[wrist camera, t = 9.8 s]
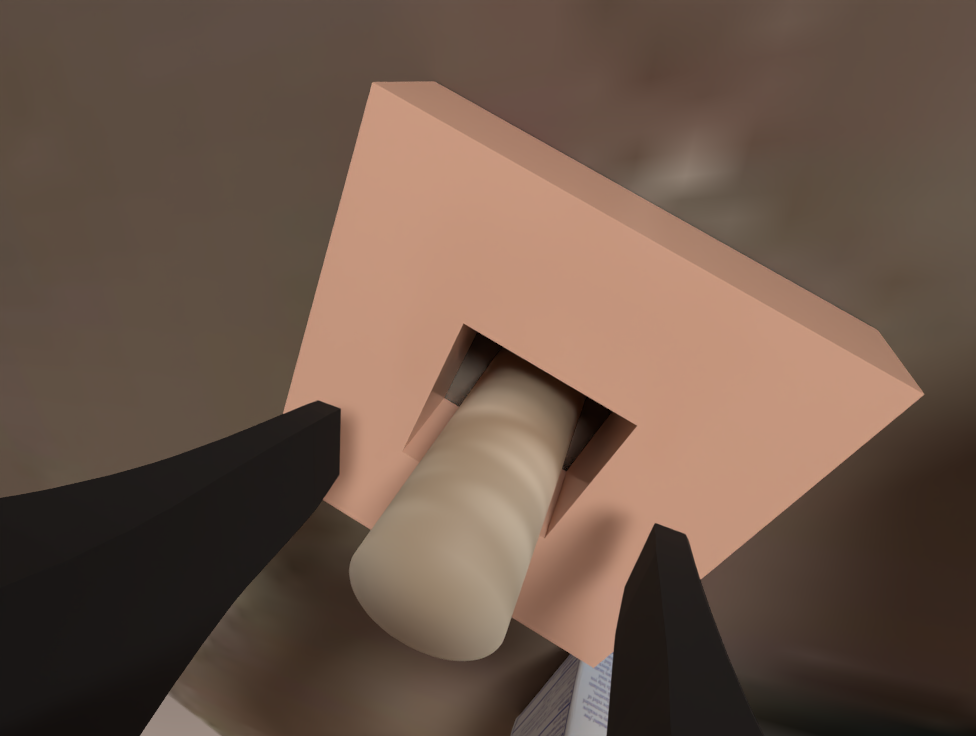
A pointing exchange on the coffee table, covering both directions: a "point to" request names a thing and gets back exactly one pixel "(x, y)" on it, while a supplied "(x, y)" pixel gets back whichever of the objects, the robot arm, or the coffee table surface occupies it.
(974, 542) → the coffee table surface
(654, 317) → the socket block
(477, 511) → the peg
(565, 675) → the medicine box
